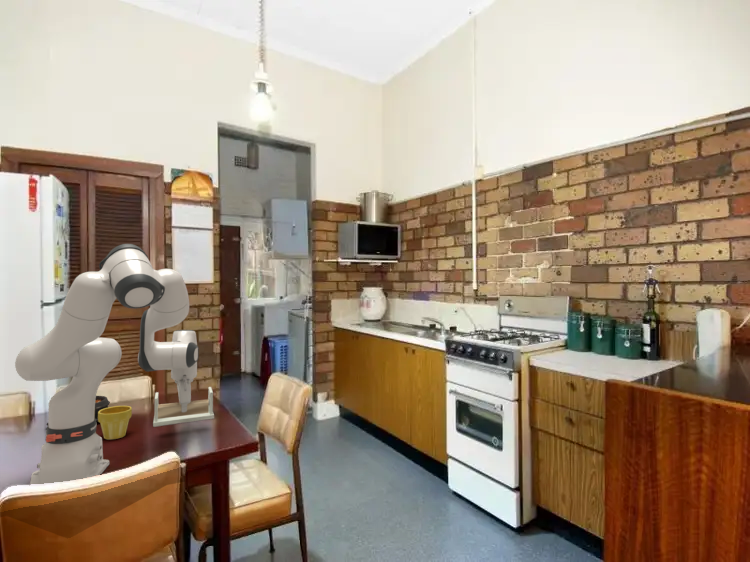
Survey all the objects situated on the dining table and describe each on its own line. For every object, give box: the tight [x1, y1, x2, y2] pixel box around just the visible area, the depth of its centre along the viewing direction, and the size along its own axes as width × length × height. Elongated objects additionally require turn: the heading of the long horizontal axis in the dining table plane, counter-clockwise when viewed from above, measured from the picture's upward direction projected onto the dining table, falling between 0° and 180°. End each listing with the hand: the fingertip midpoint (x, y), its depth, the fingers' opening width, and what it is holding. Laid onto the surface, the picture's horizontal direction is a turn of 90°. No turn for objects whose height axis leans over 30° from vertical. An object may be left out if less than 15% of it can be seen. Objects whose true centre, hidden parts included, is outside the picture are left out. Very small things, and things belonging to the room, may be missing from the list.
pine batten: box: [158, 398, 209, 419], centre depth 152 cm, size 4×17×4 cm, turn 115°
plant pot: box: [98, 405, 133, 441], centre depth 148 cm, size 10×10×10 cm
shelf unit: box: [152, 386, 215, 428], centre depth 168 cm, size 12×22×10 cm, turn 116°
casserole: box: [46, 395, 111, 426], centre depth 164 cm, size 25×19×8 cm
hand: (183, 409), depth 152 cm, fingers closed on pine batten, 4 cm apart
